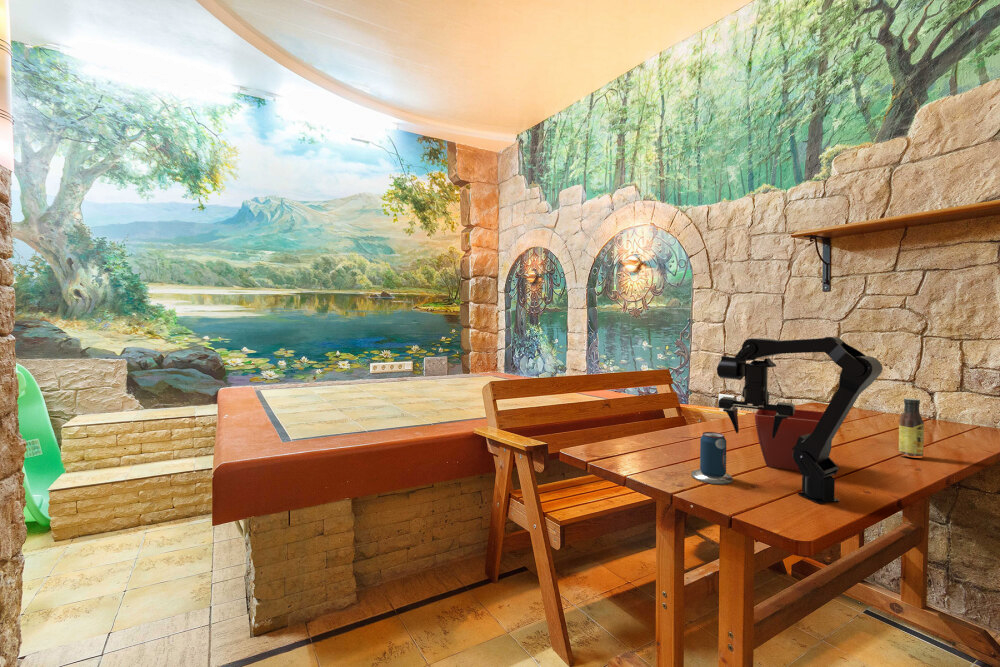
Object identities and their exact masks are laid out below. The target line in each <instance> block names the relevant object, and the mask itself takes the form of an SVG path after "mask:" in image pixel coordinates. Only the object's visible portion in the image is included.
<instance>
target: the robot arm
mask: <svg viewBox="0 0 1000 667" xmlns="http://www.w3.org/2000/svg"><path fill="white" fill-rule="evenodd" d="M807 353H809V354H810V353H811V354H812V353H825V354H826V355H827V356H828V357H830V359H831V360H832V361H833V362H834V363H835V364H836V365H838V366H839V367H840V369H841V371H840V375H839V380H838V382H839V383H838V388H837V389H836V390H835V391H836V392H835V393H834V395H833V397H832V398H831V400H830V402H828V405H827V407H826V409H825V411H823V412H824V413H823V415H822V417H821V419H820V420H819V422H818V424H817V426H816V427H815V429H814V431H813V432H812V434H807V435H803V436H800V437H799V438H798V440H797V443H796V445H795V446H794V447H793V448H792V450H794V451H793V455H792V457H793V459H794V461H795V463H796V464H797V465H798V467H799V470H800V471H799V472H800V475H801V491H799V492H797V495H798V496H800V497H803V498H805V499H807V500H809V501H812V502H814V503H816V504H819V505H821V504H823V505H824V504H831V503H840V499H838V498H836V497H835V488H836V487H835V485H836V481H835V479H836V478H835V477H833V476H834V475H837V474H838V471H839V469H840V468H839V466H838V465H837V464H836V463H835V462H834V461H833V459H832V458H830V455H831V451H832V442H833V440H834V438H835V436H836V434H837V432H838V430H839V429H840V428H841V426H842V425H843V422H844V421H845V419H846V418H847V416H848V414H849V413H850V411H851V409H852V408H853V407H854V405H855V403H856V401H857V399H858V398H859V396H860V395H861V394H862V393H863V392H864V391H865V390H867V388H869V387H870V386H871V385H872V384H873V383H874V382H876V380H877V379H878V377H879V376H881V374H882V372H883V366H882V363H881V362H880V361H879V359H877V358H876V357H873V356H870V355H865V353H863V352H861V351H860V350H858V349H857V348H855V347H853V346H852V345H850V344H848V343H846V342H845V341H843V339H841V338H840V337H838V336H825V337H821V338H819V337H818V338H805V339H804V338H802V339H790V340H789V339H788V340H787V339H786V340H785V339H784V340H781V339H780V340H779V339H774V338H773V339H772V338H764V337H762V338H761V337H760V338H759V337H758V338H757V337H756V338H747V339H745V340H744V341H743V343H742V345H741V348H740V350H739V351H738V353H737V354H736V355H735V356H730V355H729V356H728V355H722V356H721V357H720V358H721V359H720V361H719V362H718V365H717V367H716V373H717V376H718V377H719V378H721V379H728V380H734V381H735V380H738V381H742V379H743V378H744V386H743V388H742V393H741V395H742V398H744V399H743V401H741V400H737V397H732V396H731V397H728V396H722V397H721V398H720V399H718V402H717V403H718V404H717V408H719V409H722V412H725V413H727V416H728V418H729V419H730V422H731V424H732V427H733V429H734V432H735V433H736V434H739V430H740V429H739V416H738V415H739V414H738V410H739V409H738V408H742V409H753V410H758V409H760V410H769V411H776V413H777V414H776V415H775V417H774V425H773V432H772V438H773V439H774V438H775V436H776V433H777V431H778V428H779V426H780V423H781V422H782V420H783V418H785V419H787V418H788V417H789V416H793V415H794V414H795V409H796V406H795V404H794V403H791V402H785V401H784V402H783V401H778V402H777V403H776V404H773V403H770V392H769V390H768V377H769V375H768V371H769V370H768V369H769V368H776V367H777V364H776V363H774V362H773V361H772V360H771V358H769V357H774V356H778V355H783V354H807ZM758 359H759V360H758ZM760 359H763V360H760ZM748 361H749V362H748Z"/></svg>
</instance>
